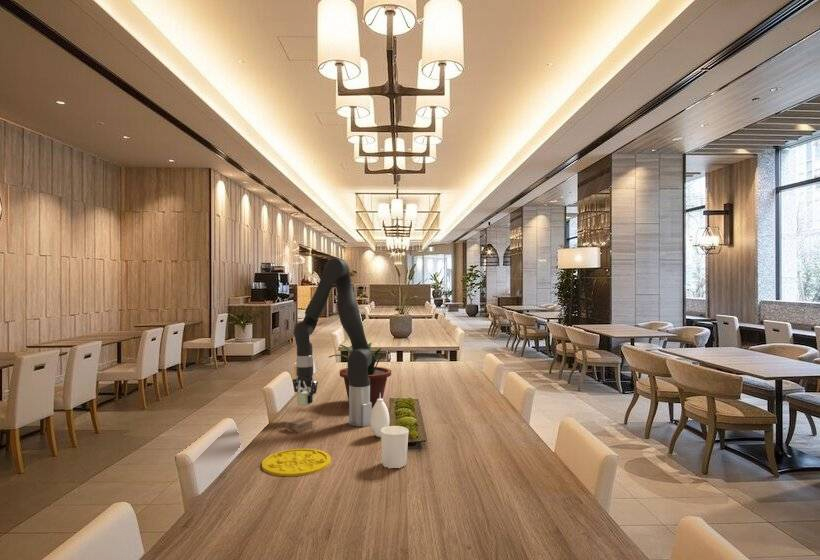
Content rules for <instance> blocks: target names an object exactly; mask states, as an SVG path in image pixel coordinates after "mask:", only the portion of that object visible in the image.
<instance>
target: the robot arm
mask: <svg viewBox="0 0 820 560" xmlns="http://www.w3.org/2000/svg"><path fill="white" fill-rule="evenodd" d="M351 280H352V279H351V274H350V267H349V263H347V261H346V260H344V259H342V258H338V257H331V258H330V259H328V260H327V261H326V263H325V265H324V268H323V271H322V275H321V277H320V280H319V282H318V285H317V287H316V289H315V291H314V293H313V296H312V297H311V300H310V301H309V303H308V305H307V307H306V308H305V312H304V314H305V315H304V318H303V320H302V321H300V322H297V323H296V324H295V326H294V329H293V330H294V332H293V333H294V334H293V335H294V341H295V345H296V361H295V362H296V363H295V365H296V368H295V369H296V370H295V371H296V372H295V373H296V374H295V375H296V376H297V377H296V378H293V379H292V385H293V391H294V393H296V394H297V393H301V392H304V389H305V391H307V394H308V396H307V398H308V404H310V403H312V401H313V402H314V399H313V400H312V395H313V396H314V395H315V394H317V389H318V383H319V382H318V380H314V379H313V376H314V357H313V356H314V355H313V344H312V343H311V340H310V336H311V335H312V334H313V333H314V331H315V330H316V328H317V325H318V322H319V318H320V317H321V314H322V313H323V312H324V309H325V308H326V306H327V303H328V301H329V300H328V299H329V295H330V293H331V290H332V288H333V286H334V284H335V288H336V294H337V295H336V296H337V297H336V300H337V301H336V303H337V304H336V307H337V308H336V309H337V313H338V317H339V321H340V324H341V326H342V327H343V330H344V331H345V333H346V335H347V336H348V338H349V341H350V346H352V347H351V348H352V349H351V350H353V351H352V352H351V353H350V354H349V353H348V356H347V357H348V358H347V368H348V379H349V401H348V424H349V426H352V427H363V428H364V427H366V426H368V425H370V418H371V413H372V409H373V408H372V402H370V379H369V378H368V366H370V364H371V362H372V352H371V348H369V346H368V344H369V343H368V341H367V338H366V335H365V330H364V325H363V322H362V318H361V314H360V310H359V306H358V302H357V299H356V295H355V291H354V290H353V286H352V281H351ZM310 405H311V404H310Z"/></svg>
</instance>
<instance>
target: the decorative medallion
mask: <svg viewBox="0 0 820 560" xmlns="http://www.w3.org/2000/svg"><path fill="white" fill-rule="evenodd" d="M331 463H332V457H331V455H330V454H329V453H327V452H325V451H323V450H319V449H314V448H292V449H286V450H282V451H281V450H280V451H277V452H274V453H272V454H270V455H268V456H266V457H265V458H264V459H263V460H262V462H261V469H262V470H263V471H264V472H266V473H267V474H269V475H272V476H277V477H300V476H301V477H302V476H308V475H312V474H315V473H316V474H317V473H318V472H321V471H323V470H325V469H327V468H328V467H329V466H330V465H331Z"/></svg>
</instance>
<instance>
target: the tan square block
mask: <svg viewBox="0 0 820 560" xmlns="http://www.w3.org/2000/svg"><path fill="white" fill-rule="evenodd" d="M313 421H314V420H313V419H309V418H305V417H300V416H299V417H296V418H292V419H289V420H286V421H285V429H284V430H285V431H286V430H289V431H288V432H290V431H292V432H291V433H294V432H296V433H295V434H298V433H299V434H301V432H302V433H304V432H303V431H305V432H307V431H306V430H308V431H310V430H313V429H312V428H313V425H314V424H313ZM309 429H310V430H309Z"/></svg>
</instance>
